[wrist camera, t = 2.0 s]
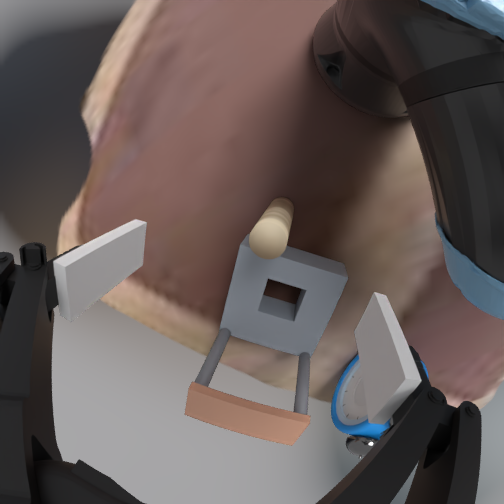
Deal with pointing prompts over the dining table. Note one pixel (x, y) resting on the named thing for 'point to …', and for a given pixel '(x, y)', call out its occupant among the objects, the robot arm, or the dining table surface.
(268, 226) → the peg
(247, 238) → the socket station
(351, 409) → the alarm clock
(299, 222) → the dining table surface
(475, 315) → the dining table surface
